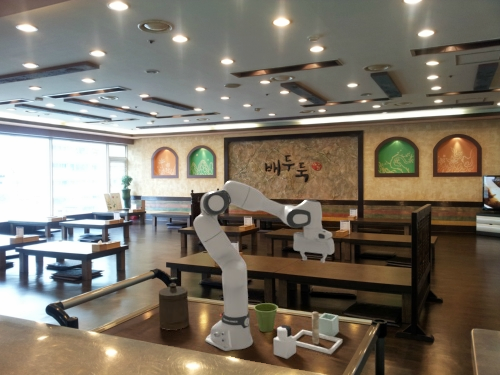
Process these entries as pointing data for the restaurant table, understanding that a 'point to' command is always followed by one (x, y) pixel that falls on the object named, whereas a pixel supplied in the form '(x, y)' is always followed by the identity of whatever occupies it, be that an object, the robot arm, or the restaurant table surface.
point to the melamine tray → (324, 350)
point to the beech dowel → (315, 327)
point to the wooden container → (173, 307)
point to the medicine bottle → (284, 342)
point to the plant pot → (266, 316)
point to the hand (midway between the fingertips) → (313, 261)
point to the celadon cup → (328, 324)
